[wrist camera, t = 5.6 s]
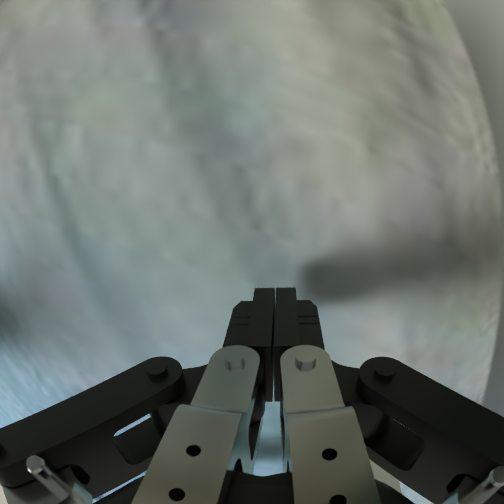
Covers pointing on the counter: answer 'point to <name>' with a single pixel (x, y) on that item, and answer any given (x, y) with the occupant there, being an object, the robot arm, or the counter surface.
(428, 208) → the counter surface
